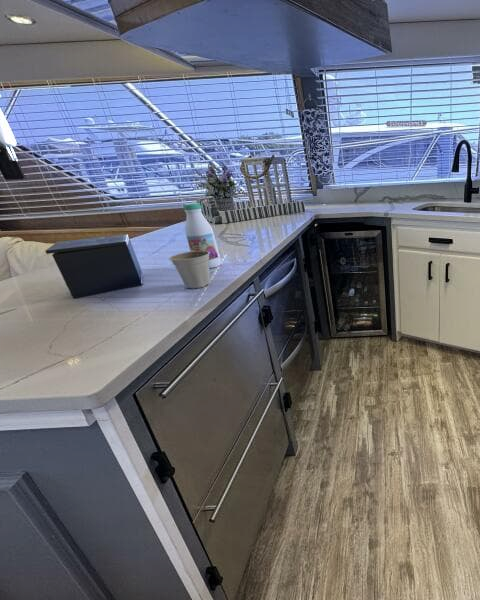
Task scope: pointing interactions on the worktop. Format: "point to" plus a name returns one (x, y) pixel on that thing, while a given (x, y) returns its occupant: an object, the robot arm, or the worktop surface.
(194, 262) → the flower pot
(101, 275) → the bin
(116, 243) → the bin lid
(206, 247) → the milk bottle
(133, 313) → the worktop surface
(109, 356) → the worktop surface
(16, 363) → the worktop surface
